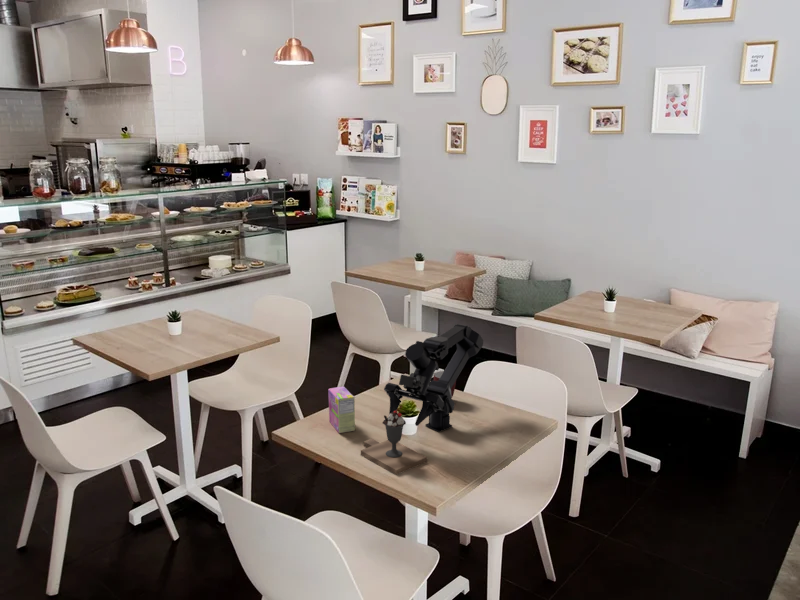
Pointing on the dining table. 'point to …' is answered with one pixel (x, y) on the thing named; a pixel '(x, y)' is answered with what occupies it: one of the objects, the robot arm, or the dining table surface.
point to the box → (341, 409)
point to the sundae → (394, 431)
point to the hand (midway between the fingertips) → (402, 421)
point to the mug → (437, 377)
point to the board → (394, 465)
